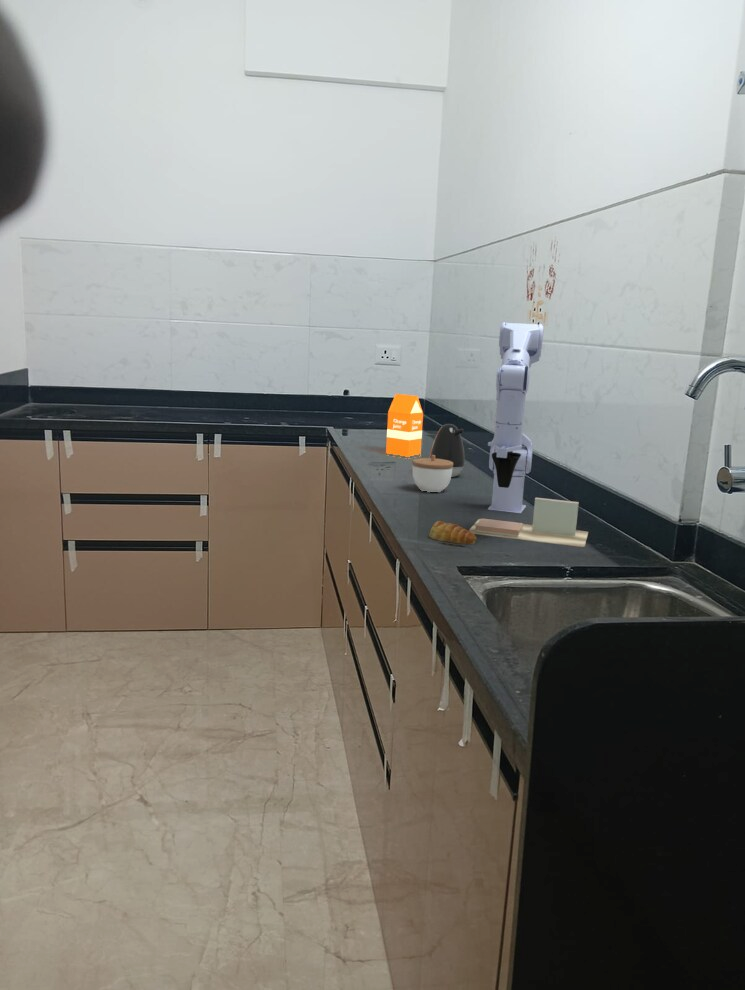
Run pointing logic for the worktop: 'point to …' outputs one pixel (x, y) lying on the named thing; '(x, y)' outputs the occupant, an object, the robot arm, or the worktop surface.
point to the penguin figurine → (450, 447)
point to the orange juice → (404, 426)
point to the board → (543, 536)
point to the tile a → (499, 527)
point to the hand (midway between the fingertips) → (503, 486)
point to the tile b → (555, 516)
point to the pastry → (451, 533)
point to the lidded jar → (432, 473)
